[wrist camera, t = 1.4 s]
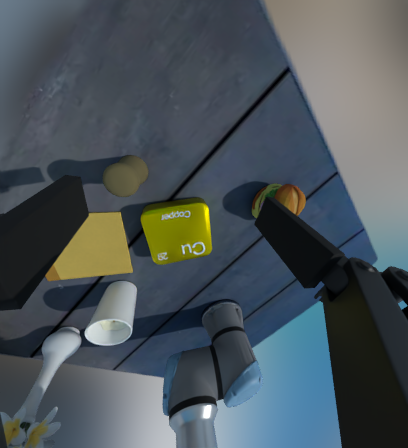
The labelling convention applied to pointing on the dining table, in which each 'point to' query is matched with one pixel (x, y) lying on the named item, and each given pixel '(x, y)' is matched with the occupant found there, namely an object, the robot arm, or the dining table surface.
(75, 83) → the dining table surface
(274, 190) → the cheeseburger
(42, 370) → the flower vase
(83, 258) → the towel
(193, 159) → the dining table surface
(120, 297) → the candle holder
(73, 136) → the dining table surface
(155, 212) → the element tile
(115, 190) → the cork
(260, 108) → the dining table surface
